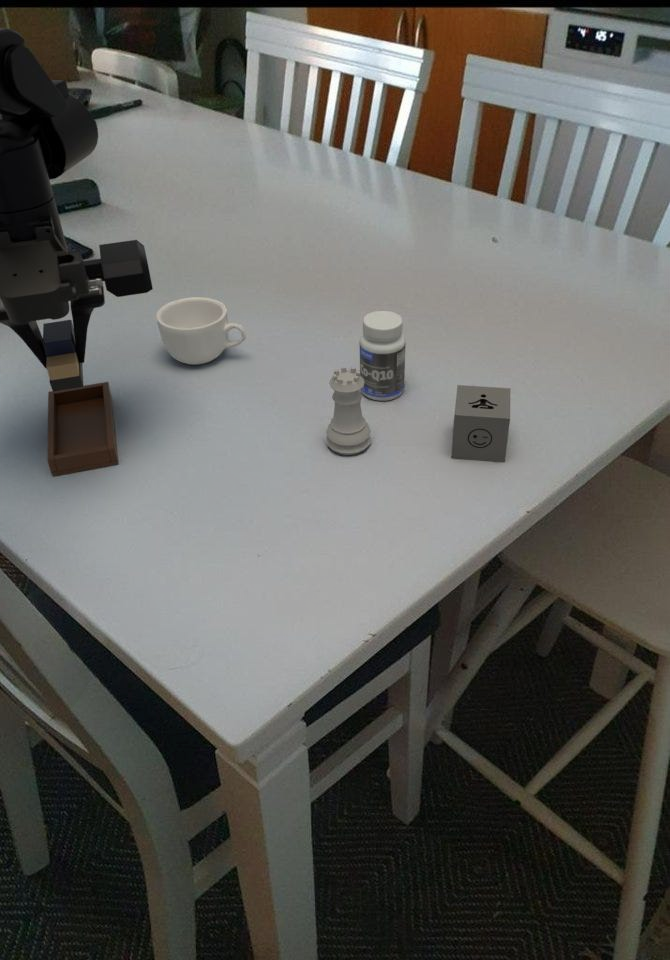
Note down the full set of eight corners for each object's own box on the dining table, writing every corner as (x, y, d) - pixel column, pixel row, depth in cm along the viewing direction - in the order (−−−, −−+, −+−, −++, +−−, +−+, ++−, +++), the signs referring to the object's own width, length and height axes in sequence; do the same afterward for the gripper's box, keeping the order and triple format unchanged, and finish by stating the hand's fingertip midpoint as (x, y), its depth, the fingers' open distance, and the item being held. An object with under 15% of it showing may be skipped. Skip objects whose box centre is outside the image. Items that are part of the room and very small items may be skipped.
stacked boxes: (52, 359, 79) (42, 323, 76) (82, 354, 80) (72, 318, 77) (52, 392, 75) (41, 354, 72) (83, 386, 75) (73, 349, 72)
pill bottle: (353, 397, 86) (351, 326, 80) (369, 374, 89) (368, 305, 84) (396, 405, 84) (397, 334, 79) (410, 382, 87) (412, 312, 82)
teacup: (153, 368, 91) (144, 326, 88) (179, 335, 97) (172, 294, 94) (237, 377, 89) (231, 334, 86) (258, 343, 95) (254, 301, 92)
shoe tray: (52, 476, 77) (47, 460, 76) (52, 407, 86) (48, 391, 85) (118, 464, 78) (114, 447, 77) (111, 397, 87) (107, 381, 86)
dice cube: (451, 457, 77) (454, 414, 74) (454, 427, 81) (457, 384, 78) (504, 462, 76) (510, 418, 73) (505, 430, 80) (510, 388, 77)
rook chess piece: (380, 442, 79) (380, 372, 74) (349, 463, 77) (347, 392, 72) (348, 424, 82) (345, 355, 77) (316, 444, 79) (312, 374, 74)
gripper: (-119, 255, 59) (-47, 429, 69) (140, 221, 62) (173, 391, 72) (-98, 201, 67) (-36, 363, 77) (130, 173, 70) (161, 332, 80)
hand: (65, 363), depth 76 cm, fingers closed on stacked boxes, 3 cm apart
